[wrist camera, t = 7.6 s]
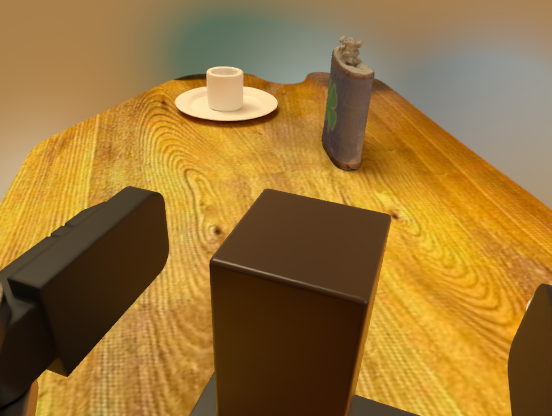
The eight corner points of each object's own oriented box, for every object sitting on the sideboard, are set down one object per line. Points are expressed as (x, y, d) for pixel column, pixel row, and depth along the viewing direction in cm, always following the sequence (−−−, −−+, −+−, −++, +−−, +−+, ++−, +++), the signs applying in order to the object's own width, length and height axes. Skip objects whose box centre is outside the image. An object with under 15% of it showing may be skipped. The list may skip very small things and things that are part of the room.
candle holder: (248, 86, 62) (249, 53, 59) (296, 116, 53) (298, 79, 51) (161, 98, 56) (158, 62, 54) (198, 134, 48) (196, 93, 45)
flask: (363, 170, 42) (382, 50, 36) (332, 171, 42) (345, 50, 36) (343, 131, 50) (356, 27, 44) (317, 131, 50) (326, 26, 44)
